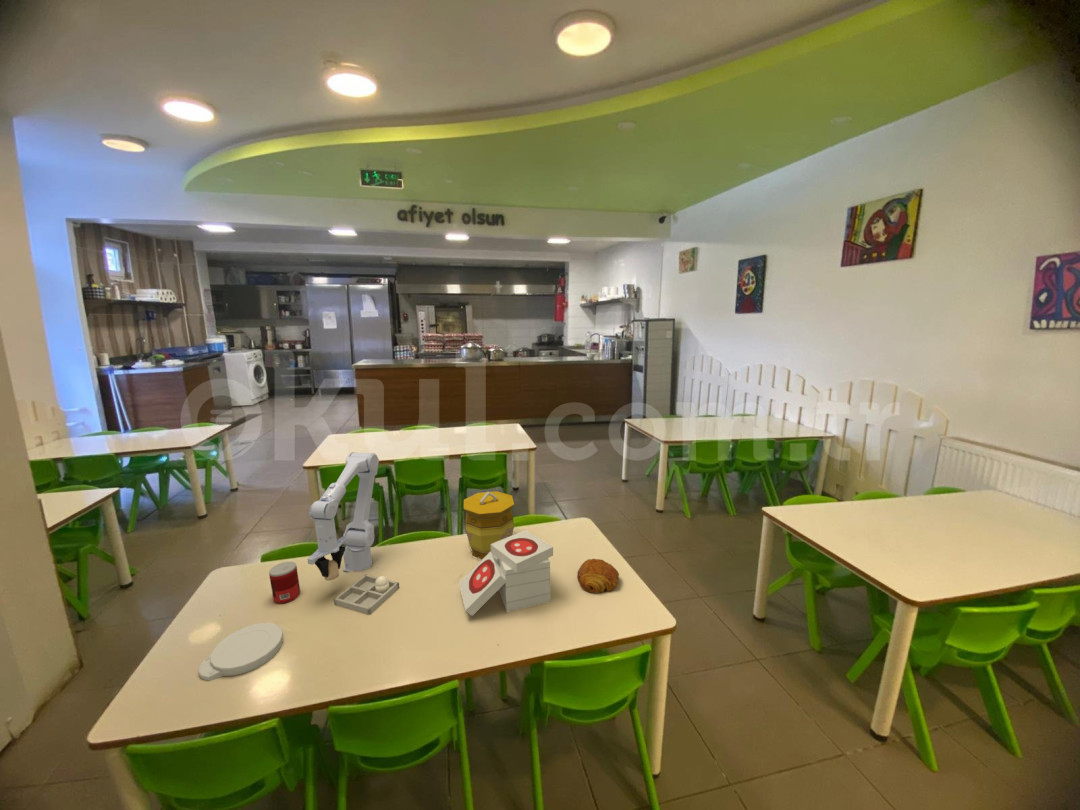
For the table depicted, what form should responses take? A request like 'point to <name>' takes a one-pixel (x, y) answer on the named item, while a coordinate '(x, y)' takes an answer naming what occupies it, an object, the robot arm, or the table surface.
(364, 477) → the robot arm
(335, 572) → the brown egg
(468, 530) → the container
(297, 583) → the canned food
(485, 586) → the stacked pizza boxes
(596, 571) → the croissant
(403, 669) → the table surface
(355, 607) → the egg carton
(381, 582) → the cream egg
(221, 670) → the lid
